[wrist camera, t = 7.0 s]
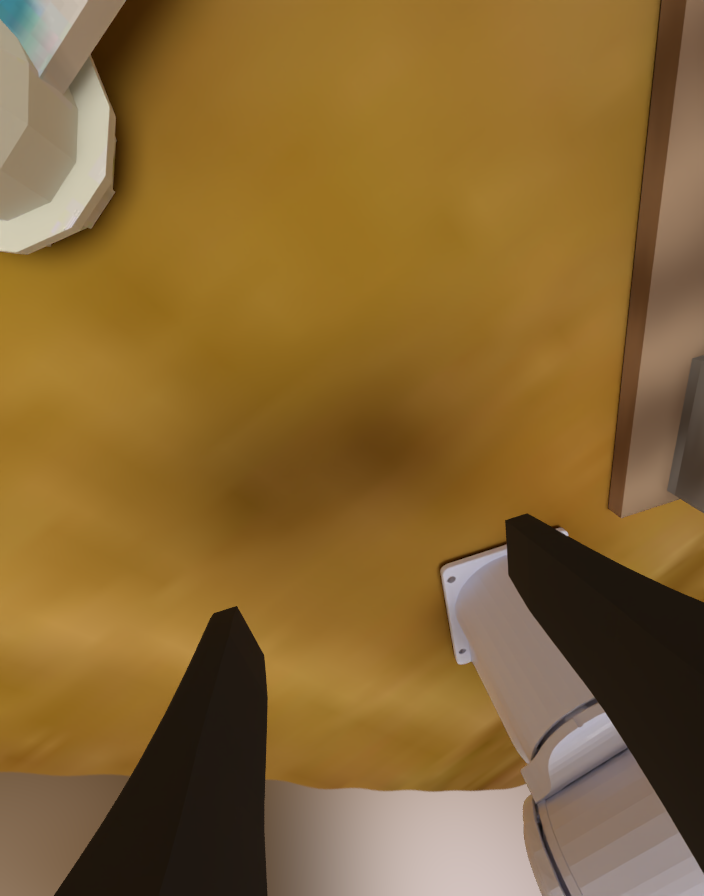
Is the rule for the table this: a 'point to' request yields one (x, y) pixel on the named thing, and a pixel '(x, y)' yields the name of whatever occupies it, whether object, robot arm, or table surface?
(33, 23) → the toothbrush head
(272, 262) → the table surface
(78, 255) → the table surface
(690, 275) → the track base
